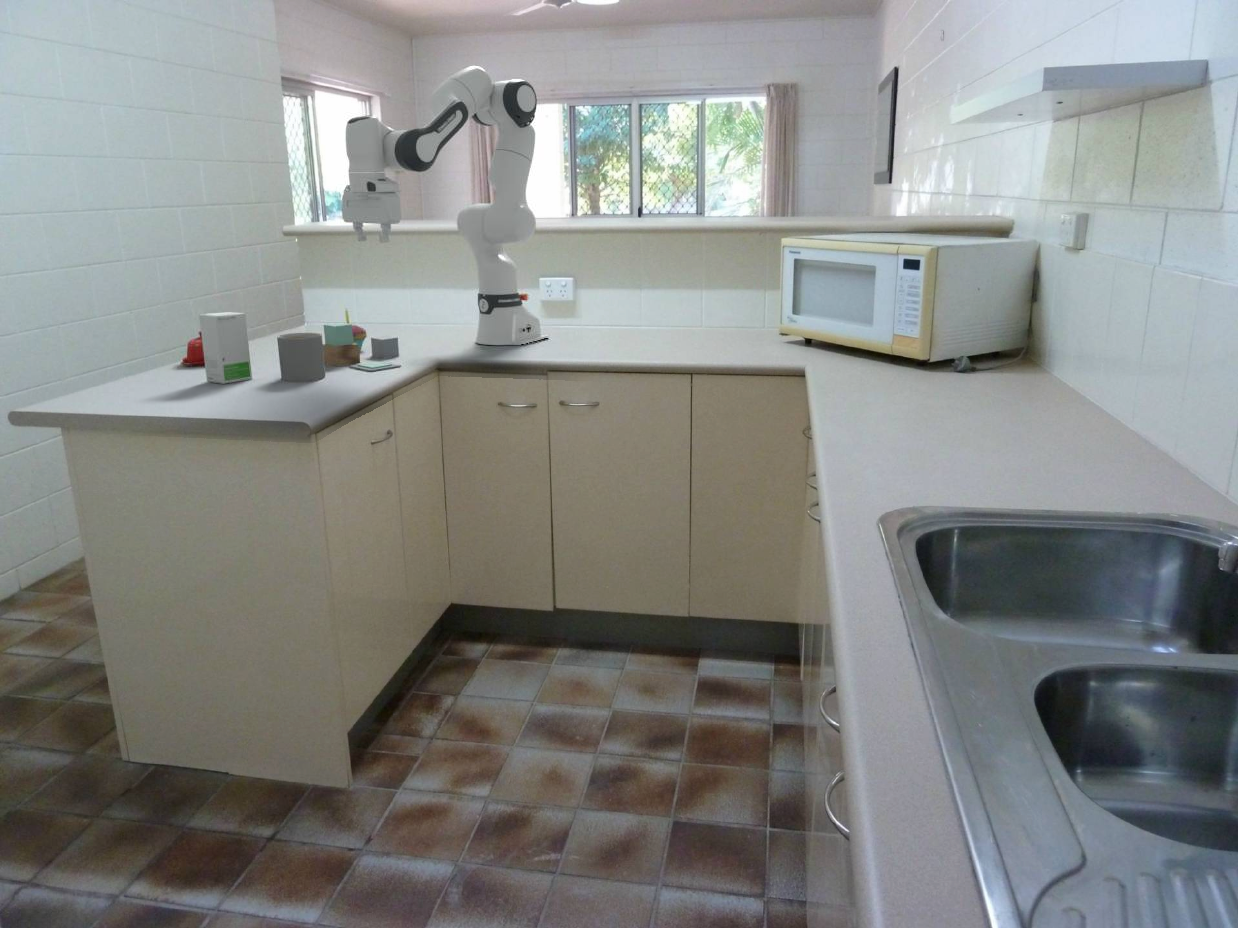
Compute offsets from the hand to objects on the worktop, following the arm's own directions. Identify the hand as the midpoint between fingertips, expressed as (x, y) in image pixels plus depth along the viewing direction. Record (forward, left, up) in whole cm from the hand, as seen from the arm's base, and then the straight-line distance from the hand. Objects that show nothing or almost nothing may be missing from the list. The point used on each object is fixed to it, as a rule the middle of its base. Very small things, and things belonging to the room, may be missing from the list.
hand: (373, 242), depth 237 cm
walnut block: (+10, -4, -30) cm, 32 cm away
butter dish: (+32, -30, -31) cm, 53 cm away
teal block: (+10, -4, -25) cm, 27 cm away
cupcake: (-3, -18, -30) cm, 35 cm away
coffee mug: (+26, +5, -30) cm, 40 cm away
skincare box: (+40, -4, -30) cm, 50 cm away
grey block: (-4, -4, -30) cm, 31 cm away
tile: (+8, +8, -30) cm, 32 cm away
